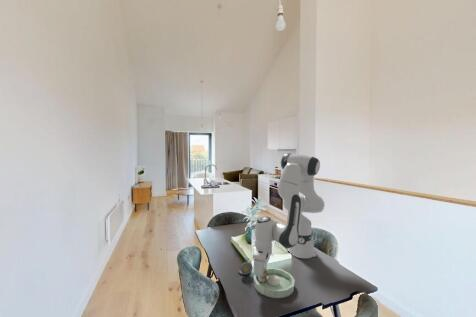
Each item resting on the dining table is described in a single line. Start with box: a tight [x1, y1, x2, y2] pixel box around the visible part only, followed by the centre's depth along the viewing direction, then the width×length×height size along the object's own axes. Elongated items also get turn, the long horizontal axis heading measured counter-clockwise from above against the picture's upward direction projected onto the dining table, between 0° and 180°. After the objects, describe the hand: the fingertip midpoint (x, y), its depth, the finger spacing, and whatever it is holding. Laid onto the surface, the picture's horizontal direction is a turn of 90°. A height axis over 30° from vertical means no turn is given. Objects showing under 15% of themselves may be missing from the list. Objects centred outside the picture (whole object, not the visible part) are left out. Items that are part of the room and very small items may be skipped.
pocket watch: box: [238, 257, 253, 276], centre depth 126 cm, size 8×8×10 cm
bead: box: [259, 270, 267, 283], centre depth 118 cm, size 4×4×5 cm
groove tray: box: [252, 267, 296, 299], centre depth 116 cm, size 20×20×4 cm
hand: (262, 275), depth 118 cm, fingers open, 8 cm apart
